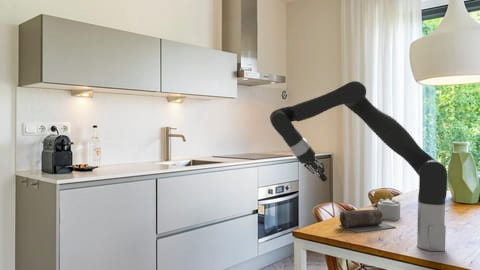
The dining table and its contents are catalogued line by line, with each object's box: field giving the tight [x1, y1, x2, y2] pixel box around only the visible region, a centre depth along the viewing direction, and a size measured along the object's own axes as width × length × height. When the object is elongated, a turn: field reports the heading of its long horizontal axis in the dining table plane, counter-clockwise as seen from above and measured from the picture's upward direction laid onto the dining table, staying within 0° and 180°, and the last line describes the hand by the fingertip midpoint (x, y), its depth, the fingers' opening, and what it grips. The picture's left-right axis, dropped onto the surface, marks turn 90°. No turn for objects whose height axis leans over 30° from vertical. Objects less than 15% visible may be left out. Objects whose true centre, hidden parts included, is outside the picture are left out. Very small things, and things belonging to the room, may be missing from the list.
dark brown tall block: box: [339, 208, 384, 229], centre depth 173 cm, size 8×7×20 cm
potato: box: [372, 188, 393, 207], centre depth 222 cm, size 10×12×10 cm
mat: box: [339, 222, 397, 233], centre depth 174 cm, size 22×12×1 cm, turn 112°
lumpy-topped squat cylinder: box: [377, 198, 401, 221], centre depth 195 cm, size 10×13×9 cm
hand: (324, 180), depth 163 cm, fingers closed
